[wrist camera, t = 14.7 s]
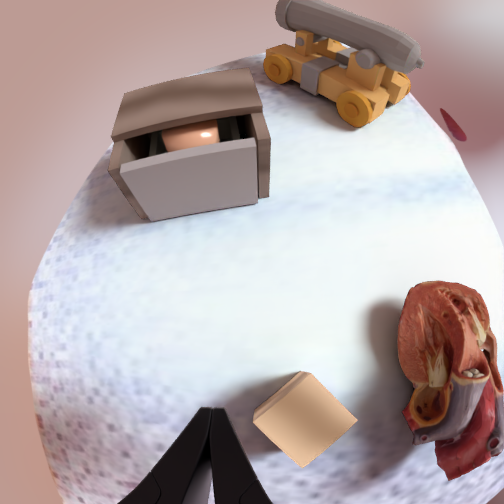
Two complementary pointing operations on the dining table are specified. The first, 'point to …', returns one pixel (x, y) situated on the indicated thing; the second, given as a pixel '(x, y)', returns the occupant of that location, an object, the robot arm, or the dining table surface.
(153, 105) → the housing
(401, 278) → the dining table surface
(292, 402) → the block
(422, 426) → the anatomical model
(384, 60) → the toy cannon
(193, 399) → the dining table surface
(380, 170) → the dining table surface
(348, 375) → the dining table surface
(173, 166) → the drawer
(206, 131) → the tan rounded cylinder
